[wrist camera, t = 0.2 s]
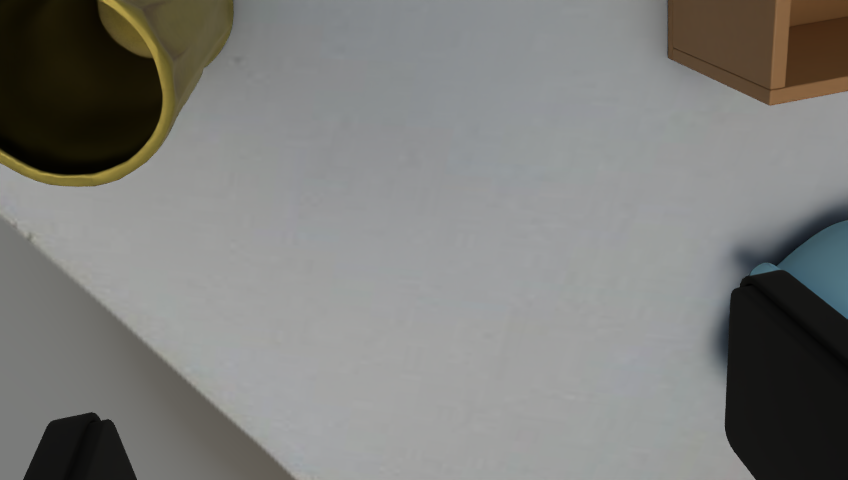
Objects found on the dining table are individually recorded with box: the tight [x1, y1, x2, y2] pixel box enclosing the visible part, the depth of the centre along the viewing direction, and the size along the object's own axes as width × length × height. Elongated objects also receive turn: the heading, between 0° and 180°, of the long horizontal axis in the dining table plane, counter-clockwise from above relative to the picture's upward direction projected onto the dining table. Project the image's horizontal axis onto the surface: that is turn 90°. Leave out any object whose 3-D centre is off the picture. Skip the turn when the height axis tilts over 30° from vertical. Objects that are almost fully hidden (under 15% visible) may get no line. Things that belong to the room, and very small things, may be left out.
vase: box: [0, 0, 233, 187], centre depth 25 cm, size 6×6×14 cm
